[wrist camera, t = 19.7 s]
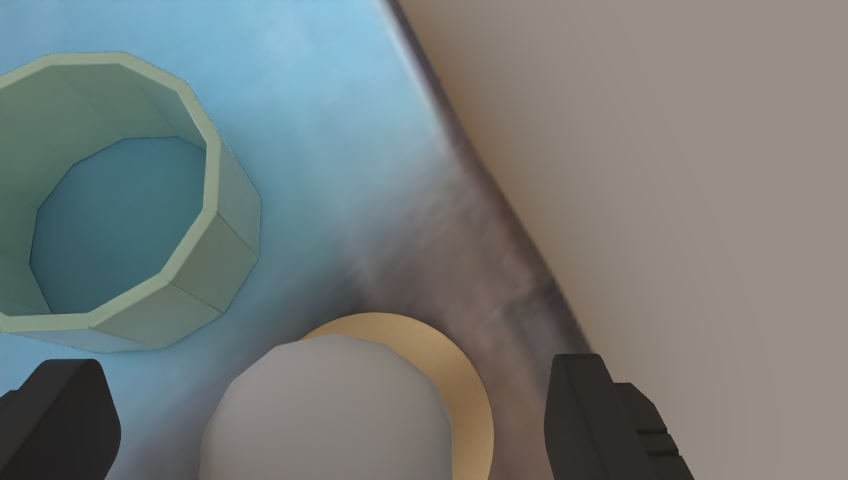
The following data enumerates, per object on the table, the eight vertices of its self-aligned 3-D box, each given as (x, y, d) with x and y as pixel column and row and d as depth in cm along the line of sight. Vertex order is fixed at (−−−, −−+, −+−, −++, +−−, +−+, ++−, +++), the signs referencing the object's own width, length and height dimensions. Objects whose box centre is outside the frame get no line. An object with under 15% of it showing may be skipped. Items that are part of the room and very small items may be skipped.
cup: (-16, 199, 24) (-133, 137, 19) (196, 91, 26) (142, 8, 21) (77, 401, 22) (-27, 395, 17) (302, 267, 24) (272, 224, 18)
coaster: (212, 395, 22) (207, 395, 21) (410, 273, 24) (410, 269, 23) (331, 620, 20) (329, 626, 19) (539, 469, 22) (542, 470, 21)
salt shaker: (258, 451, 21) (42, 497, 9) (359, 327, 22) (298, 212, 10) (383, 560, 20) (343, 789, 8) (480, 423, 21) (578, 429, 9)
